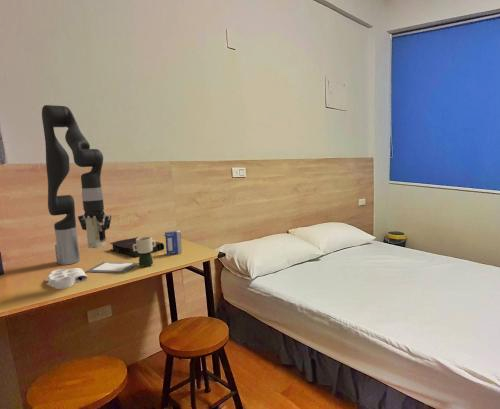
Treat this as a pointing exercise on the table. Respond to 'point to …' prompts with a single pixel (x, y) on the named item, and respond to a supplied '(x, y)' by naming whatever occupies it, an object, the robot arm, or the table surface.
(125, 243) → the diary
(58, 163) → the robot arm
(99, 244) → the skincare box
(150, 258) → the character mug
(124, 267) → the notepad
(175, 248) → the walkman
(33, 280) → the table surface
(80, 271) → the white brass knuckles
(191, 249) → the table surface
